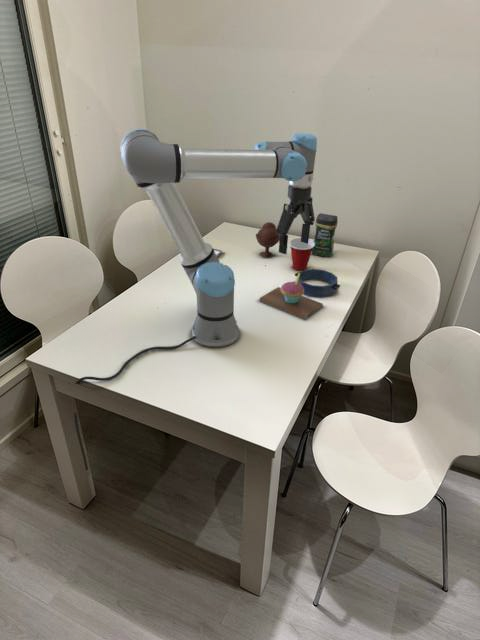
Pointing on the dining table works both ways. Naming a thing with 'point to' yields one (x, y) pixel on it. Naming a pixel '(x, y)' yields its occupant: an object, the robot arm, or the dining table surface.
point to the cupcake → (292, 291)
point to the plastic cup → (300, 253)
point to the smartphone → (217, 252)
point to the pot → (318, 275)
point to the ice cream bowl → (267, 238)
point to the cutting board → (291, 304)
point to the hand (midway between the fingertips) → (293, 247)
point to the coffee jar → (324, 235)
